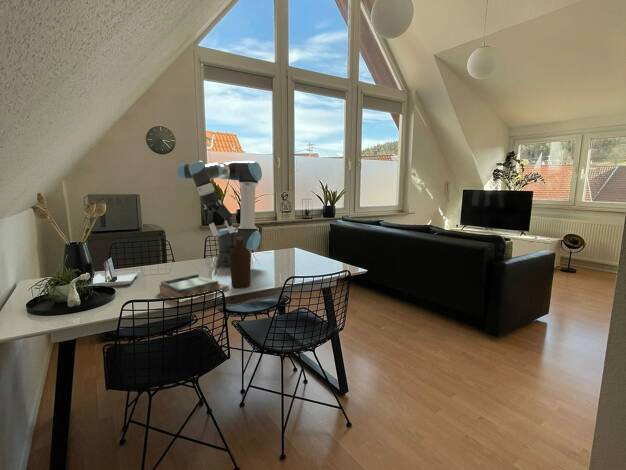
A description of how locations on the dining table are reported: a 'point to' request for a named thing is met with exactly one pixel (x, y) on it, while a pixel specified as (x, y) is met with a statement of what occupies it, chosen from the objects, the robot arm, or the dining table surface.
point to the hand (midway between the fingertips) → (224, 234)
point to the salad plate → (122, 278)
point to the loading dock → (190, 286)
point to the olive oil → (240, 265)
